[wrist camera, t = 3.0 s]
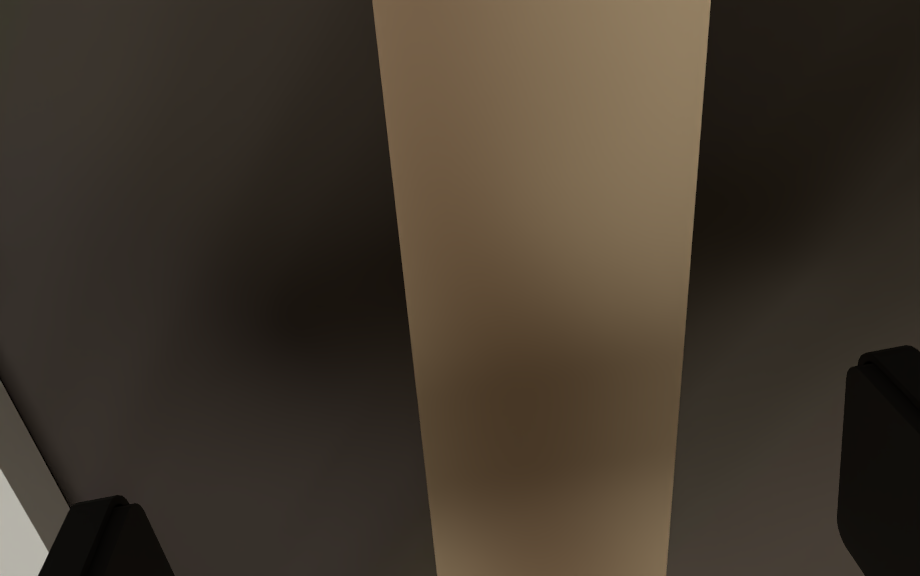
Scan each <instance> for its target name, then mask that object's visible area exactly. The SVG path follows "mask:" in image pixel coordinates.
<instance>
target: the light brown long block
mask: <svg viewBox="0 0 920 576" xmlns="http://www.w3.org/2000/svg"><path fill="white" fill-rule="evenodd" d="M372 2H373V11H374V19H375V28H376V37H377V46H378V55H379V64H380V73H381V81H382V90H383V99H384V108H385V117H386V126H387V135H388V143H389V152H390V161H391V170H392V179H393V188H394V196H395V205H396V214H397V223H398V232H399V241H400V250H401V258H402V267H403V276H404V285H405V294H406V303H407V311H408V320H409V329H410V338H411V347H412V356H413V365H414V373H415V382H416V391H417V400H418V409H419V418H420V426H421V435H422V444H423V453H424V462H425V471H426V480H427V488H428V497H429V506H430V515H431V524H432V533H433V542H434V550H435V559H436V568H437V576H666V569H667V557H668V544H669V531H670V518H671V505H672V493H673V480H674V467H675V454H676V441H677V428H678V416H679V403H680V390H681V377H682V364H683V351H684V339H685V326H686V313H687V300H688V287H689V274H690V262H691V249H692V236H693V223H694V210H695V197H696V185H697V172H698V159H699V146H700V133H701V121H702V108H703V95H704V82H705V69H706V56H707V44H708V31H709V18H710V5H711V0H372Z"/></svg>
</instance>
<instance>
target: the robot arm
mask: <svg viewBox="0 0 920 576" xmlns="http://www.w3.org/2000/svg"><path fill="white" fill-rule="evenodd" d="M837 524H838V529H839V532H840V536H841V538H842V540H843V543H844V544H845V546H846V548H847V549H848V551H849V552H850V554H851V555H852V557H853V558H854V560H855V561H856V563H857V564H858V566H859V567H860V569H861V570H862V572H863V573H864V575H865V576H920V352H919V351H918V350H917V349H915V348H914V347H912V346H908V345H905V346H900V347H894V348H889V349H884V350H879V351H873V352H868V353H865V354H863V355H861V357H860V359H859V361H858V366H855V367H851V368H850V369H849V370H848V372H847V377H846V392H845V406H844V421H843V436H842V451H841V465H840V480H839V495H838V510H837ZM38 576H175V575H174V573H173V571H172V569H171V567H170V565H169V563H168V561H167V559H166V556H165V554H164V552H163V550H162V548H161V546H160V544H159V542H158V539H157V537H156V535H155V533H154V531H153V529H152V527H151V525H150V522H149V520H148V518H147V516H146V514H145V512H144V510H143V508H142V507H141V506H140V505H139V504H136V503H134V504H129V503H128V501H127V499H125V498H124V497H123V496H120V495H116V496H111V497H106V498H100V499H95V500H90V501H85V502H79V503H76V504H74V505H73V506H72V507H71V508H70V510H69V511H68V513H67V515H66V518H65V520H64V522H63V524H62V526H61V528H60V530H59V532H58V534H57V537H56V539H55V541H54V543H53V545H52V547H51V549H50V551H49V553H48V556H47V558H46V560H45V562H44V564H43V566H42V568H41V570H40V572H39V574H38Z"/></svg>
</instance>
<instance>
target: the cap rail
mask: <svg viewBox="0 0 920 576" xmlns="http://www.w3.org/2000/svg"><path fill="white" fill-rule="evenodd" d="M69 510H70V508H69V506H68V504H67V502H66V501H65V499H64V497H63V495H62V493H61V491H60V490H59V488H58V486H57V484H56V482H55V480H54V478H53V477H52V475H51V473H50V471H49V469H48V467H47V466H46V464H45V462H44V460H43V458H42V456H41V454H40V453H39V451H38V449H37V447H36V445H35V443H34V442H33V440H32V438H31V436H30V434H29V432H28V430H27V429H26V427H25V425H24V423H23V421H22V419H21V417H20V416H19V414H18V412H17V410H16V408H15V406H14V405H13V403H12V401H11V399H10V397H9V395H8V393H7V392H6V390H5V388H4V386H3V384H2V382H1V381H0V576H38V574H39V572H40V570H41V568H42V566H43V564H44V562H45V560H46V558H47V556H48V553H49V551H50V549H51V547H52V545H53V543H54V541H55V539H56V537H57V534H58V532H59V530H60V528H61V526H62V524H63V522H64V520H65V518H66V515H67V513H68V511H69Z"/></svg>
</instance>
